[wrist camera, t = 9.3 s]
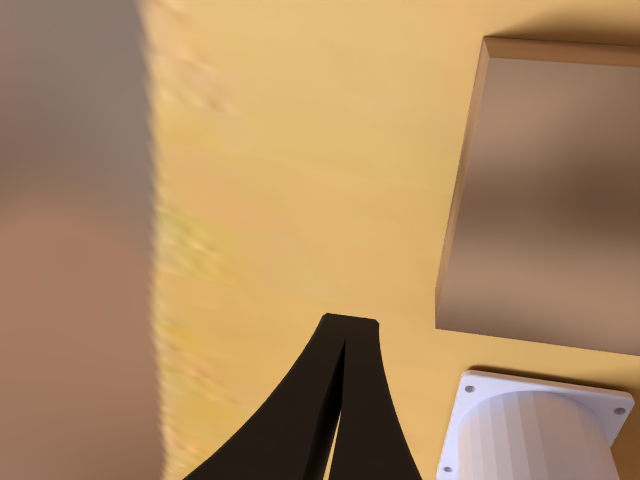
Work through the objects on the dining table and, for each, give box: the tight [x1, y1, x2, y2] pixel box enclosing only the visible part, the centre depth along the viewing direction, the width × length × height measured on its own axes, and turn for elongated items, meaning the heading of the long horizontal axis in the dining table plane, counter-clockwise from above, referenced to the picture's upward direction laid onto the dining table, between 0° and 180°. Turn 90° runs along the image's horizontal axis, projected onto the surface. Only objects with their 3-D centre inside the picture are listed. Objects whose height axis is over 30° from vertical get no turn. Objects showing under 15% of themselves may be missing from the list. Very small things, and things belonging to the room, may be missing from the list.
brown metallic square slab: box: [435, 37, 640, 356], centre depth 19 cm, size 11×11×2 cm
